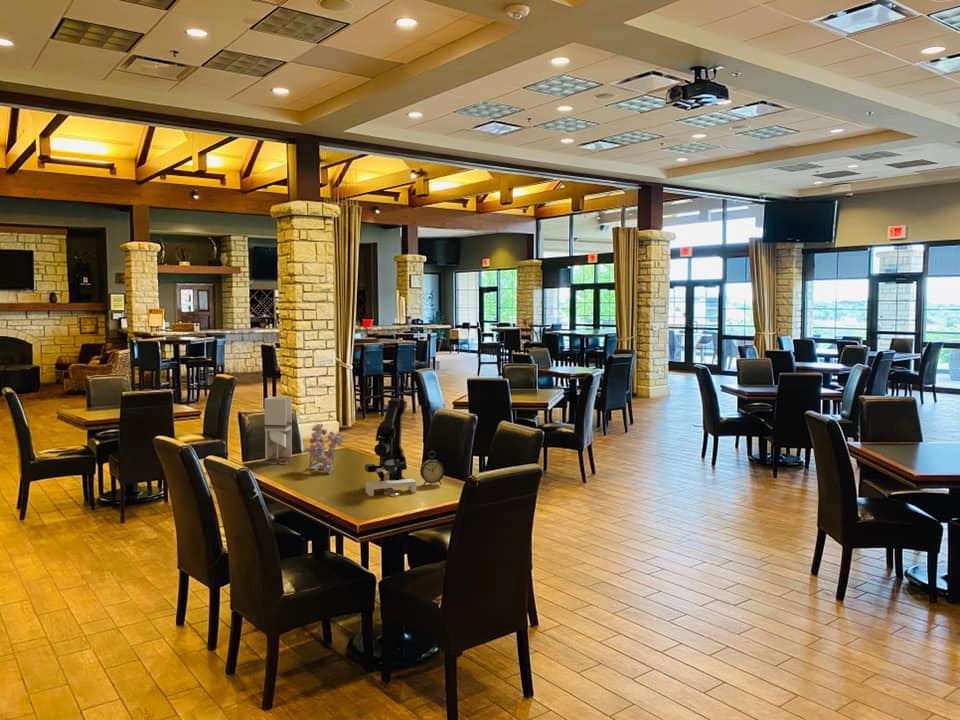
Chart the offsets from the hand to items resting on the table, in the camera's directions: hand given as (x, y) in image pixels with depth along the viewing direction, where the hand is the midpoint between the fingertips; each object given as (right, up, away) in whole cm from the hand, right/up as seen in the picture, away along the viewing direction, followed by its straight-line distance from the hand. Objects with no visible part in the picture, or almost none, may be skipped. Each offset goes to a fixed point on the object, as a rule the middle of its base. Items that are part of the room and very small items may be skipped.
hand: (385, 485), depth 346 cm
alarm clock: (+21, -2, +10) cm, 23 cm away
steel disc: (+6, -3, -13) cm, 14 cm away
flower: (-36, +1, +35) cm, 50 cm away
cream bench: (+3, -2, -8) cm, 9 cm away
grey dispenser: (-65, +3, +56) cm, 86 cm away
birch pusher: (+2, -2, -4) cm, 5 cm away
